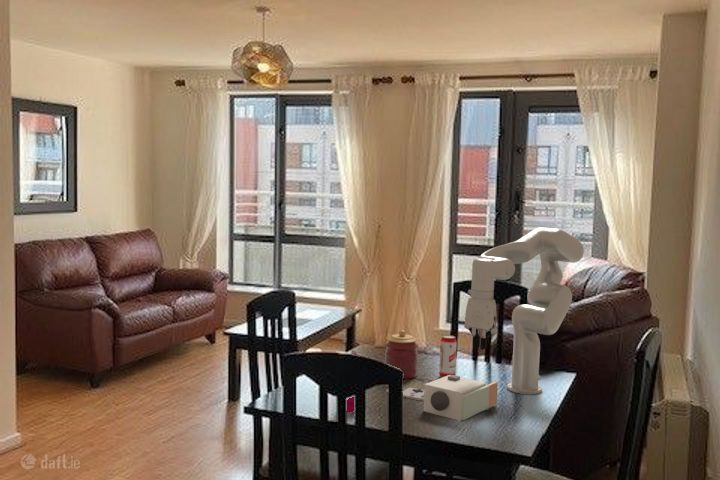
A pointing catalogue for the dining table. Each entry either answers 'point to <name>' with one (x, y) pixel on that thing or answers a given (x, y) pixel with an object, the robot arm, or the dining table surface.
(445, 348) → the beer can
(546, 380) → the dining table surface
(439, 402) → the block
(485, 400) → the side door
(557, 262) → the robot arm
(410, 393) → the handheld gaming console
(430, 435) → the dining table surface
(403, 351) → the canister
